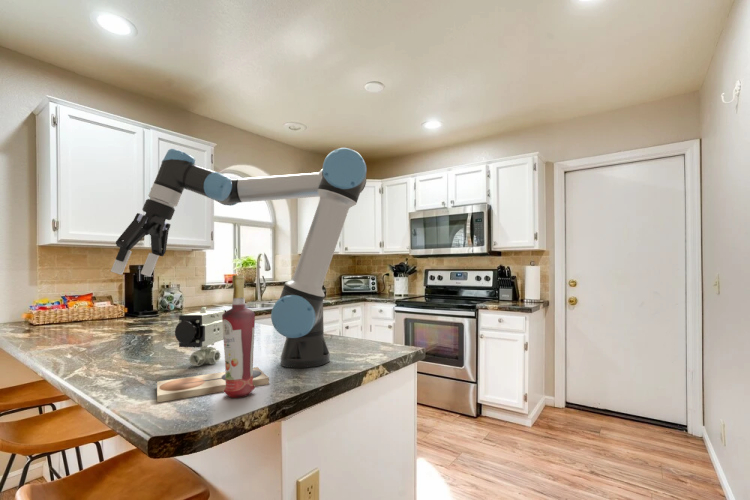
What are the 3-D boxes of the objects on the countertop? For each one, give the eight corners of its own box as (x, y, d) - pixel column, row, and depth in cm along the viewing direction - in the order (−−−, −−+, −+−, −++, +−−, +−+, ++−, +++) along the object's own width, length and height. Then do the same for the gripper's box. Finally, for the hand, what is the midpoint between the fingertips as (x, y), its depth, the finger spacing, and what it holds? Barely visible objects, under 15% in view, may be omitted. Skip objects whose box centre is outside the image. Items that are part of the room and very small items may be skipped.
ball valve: (199, 371, 113) (199, 310, 114) (173, 370, 115) (173, 310, 116) (233, 357, 131) (233, 304, 132) (211, 356, 132) (210, 304, 133)
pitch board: (257, 372, 111) (257, 356, 111) (269, 383, 99) (268, 365, 99) (157, 387, 98) (157, 369, 98) (157, 402, 87) (157, 382, 87)
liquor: (262, 393, 91) (260, 274, 93) (234, 402, 86) (233, 275, 87) (244, 388, 96) (243, 275, 97) (216, 396, 90) (215, 275, 91)
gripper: (170, 207, 121) (144, 271, 119) (121, 186, 97) (87, 267, 94) (193, 215, 121) (167, 279, 119) (150, 196, 97) (116, 277, 94)
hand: (131, 274), depth 107 cm, fingers open, 13 cm apart
